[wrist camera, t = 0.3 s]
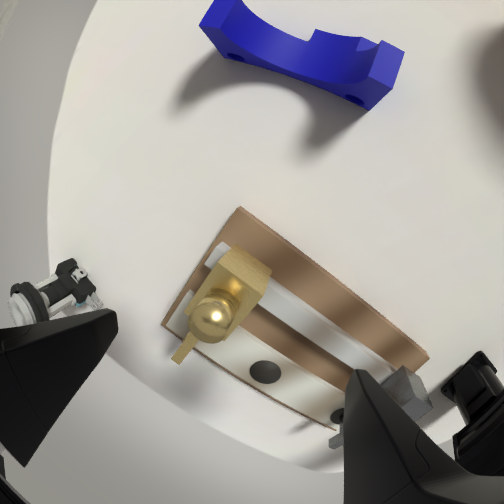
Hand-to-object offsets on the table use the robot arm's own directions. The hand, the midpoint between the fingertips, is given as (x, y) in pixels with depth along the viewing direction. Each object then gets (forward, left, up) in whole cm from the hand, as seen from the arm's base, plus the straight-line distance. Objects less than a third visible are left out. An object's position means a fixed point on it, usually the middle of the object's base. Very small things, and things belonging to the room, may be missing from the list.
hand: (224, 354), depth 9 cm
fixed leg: (-16, +5, -11) cm, 20 cm away
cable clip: (+7, -14, -13) cm, 21 cm away
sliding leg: (+1, +5, -11) cm, 12 cm away
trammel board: (-7, +5, -13) cm, 16 cm away
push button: (+14, +16, -13) cm, 25 cm away
